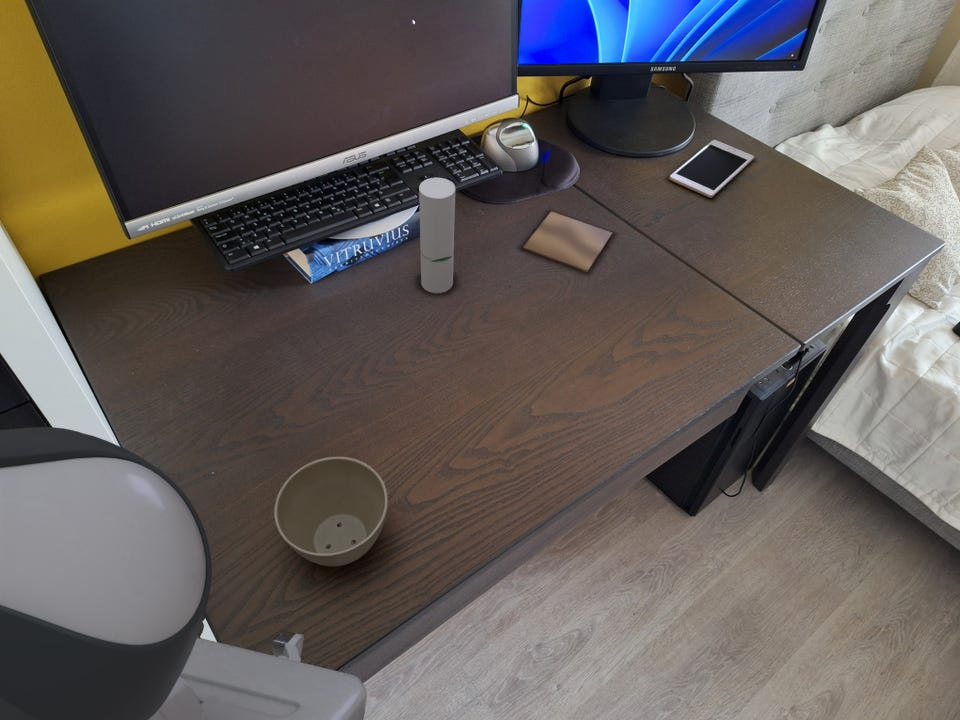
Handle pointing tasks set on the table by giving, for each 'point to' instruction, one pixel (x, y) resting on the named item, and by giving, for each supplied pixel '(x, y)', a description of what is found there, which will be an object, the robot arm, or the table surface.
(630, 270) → the table surface
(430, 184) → the tube
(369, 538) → the flower pot
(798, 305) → the table surface
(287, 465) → the table surface
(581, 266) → the shiny brown rectangular coaster
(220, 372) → the table surface
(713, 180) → the cell phone
